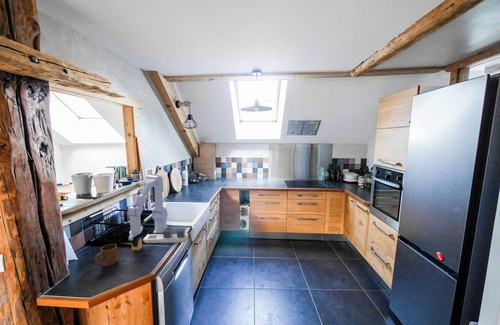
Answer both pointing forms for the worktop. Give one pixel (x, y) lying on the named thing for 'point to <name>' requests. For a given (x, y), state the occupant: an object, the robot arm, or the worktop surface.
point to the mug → (108, 255)
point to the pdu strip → (164, 240)
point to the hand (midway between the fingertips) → (136, 245)
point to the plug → (138, 244)
